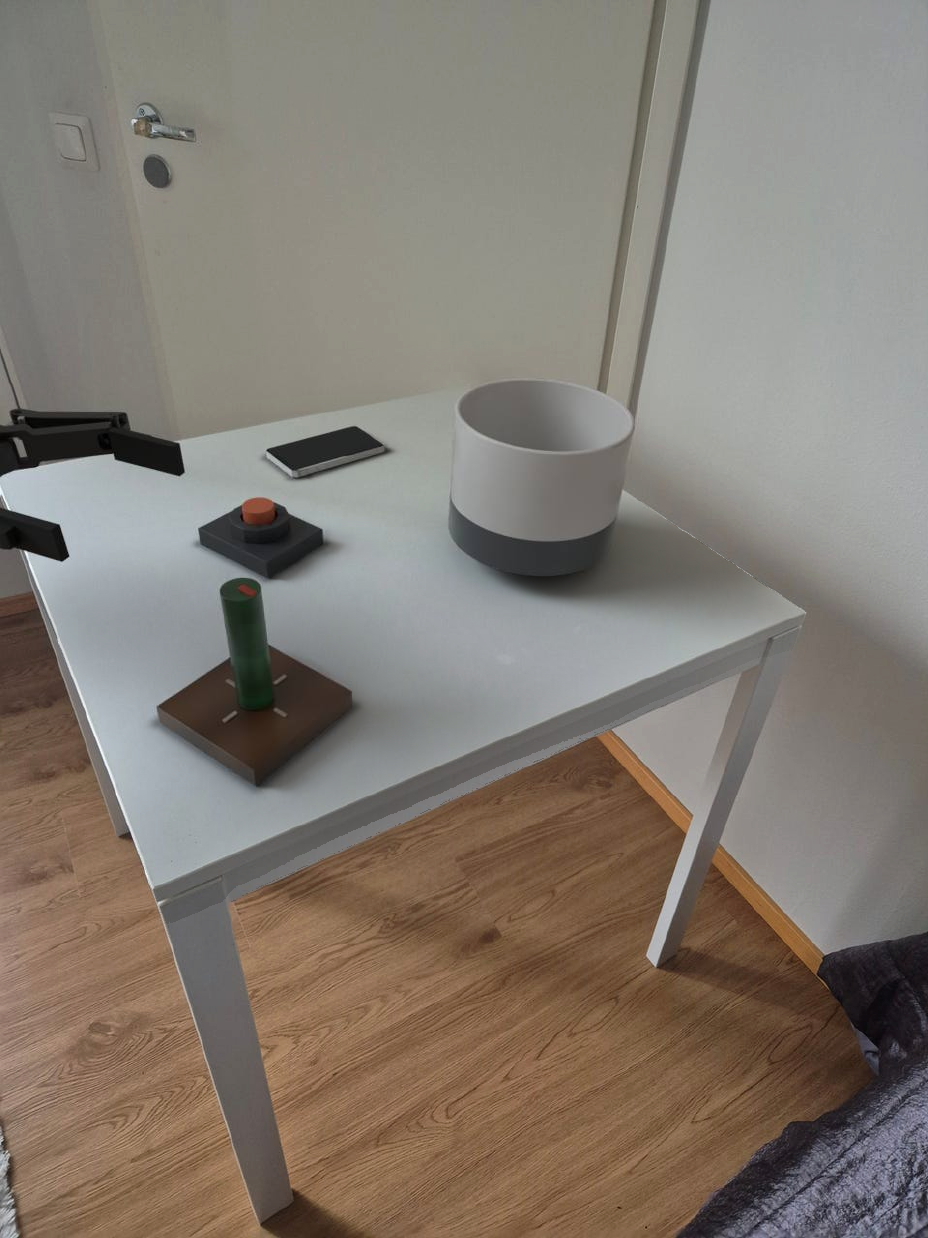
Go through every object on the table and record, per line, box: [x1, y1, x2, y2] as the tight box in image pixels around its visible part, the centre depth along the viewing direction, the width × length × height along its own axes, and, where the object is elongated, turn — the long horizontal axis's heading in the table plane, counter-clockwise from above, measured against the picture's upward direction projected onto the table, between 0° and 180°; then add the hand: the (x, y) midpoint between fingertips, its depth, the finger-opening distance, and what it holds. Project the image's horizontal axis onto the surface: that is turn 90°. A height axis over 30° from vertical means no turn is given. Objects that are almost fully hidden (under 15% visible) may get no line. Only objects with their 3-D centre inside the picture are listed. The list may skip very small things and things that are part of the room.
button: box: [241, 497, 275, 525], centre depth 91 cm, size 4×4×2 cm
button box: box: [197, 501, 324, 579], centre depth 93 cm, size 11×9×4 cm
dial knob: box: [219, 577, 274, 711], centre depth 67 cm, size 3×3×12 cm
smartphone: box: [265, 425, 386, 478], centre depth 112 cm, size 8×1×15 cm
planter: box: [447, 377, 636, 577], centre depth 91 cm, size 19×19×18 cm
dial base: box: [156, 643, 353, 787], centre depth 72 cm, size 12×12×2 cm
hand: (125, 498), depth 61 cm, fingers open, 13 cm apart
